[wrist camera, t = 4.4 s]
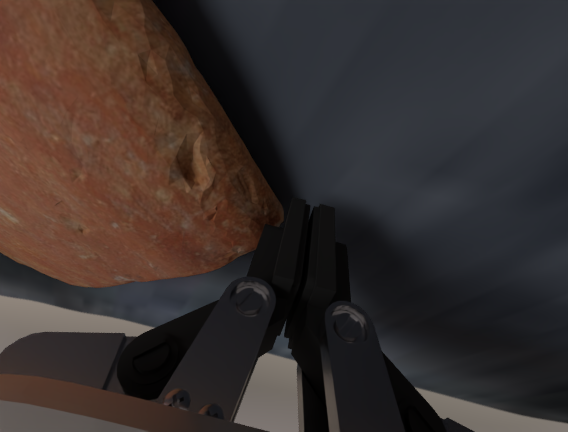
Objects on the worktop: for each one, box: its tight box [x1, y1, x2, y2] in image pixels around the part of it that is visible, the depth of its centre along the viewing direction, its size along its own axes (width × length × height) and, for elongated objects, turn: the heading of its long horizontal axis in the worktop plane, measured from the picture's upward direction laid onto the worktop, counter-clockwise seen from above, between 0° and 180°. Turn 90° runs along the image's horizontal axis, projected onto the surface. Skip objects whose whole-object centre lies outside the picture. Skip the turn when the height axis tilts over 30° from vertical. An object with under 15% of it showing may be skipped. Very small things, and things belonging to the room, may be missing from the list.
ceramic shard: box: [0, 0, 284, 288], centre depth 10 cm, size 15×6×15 cm
